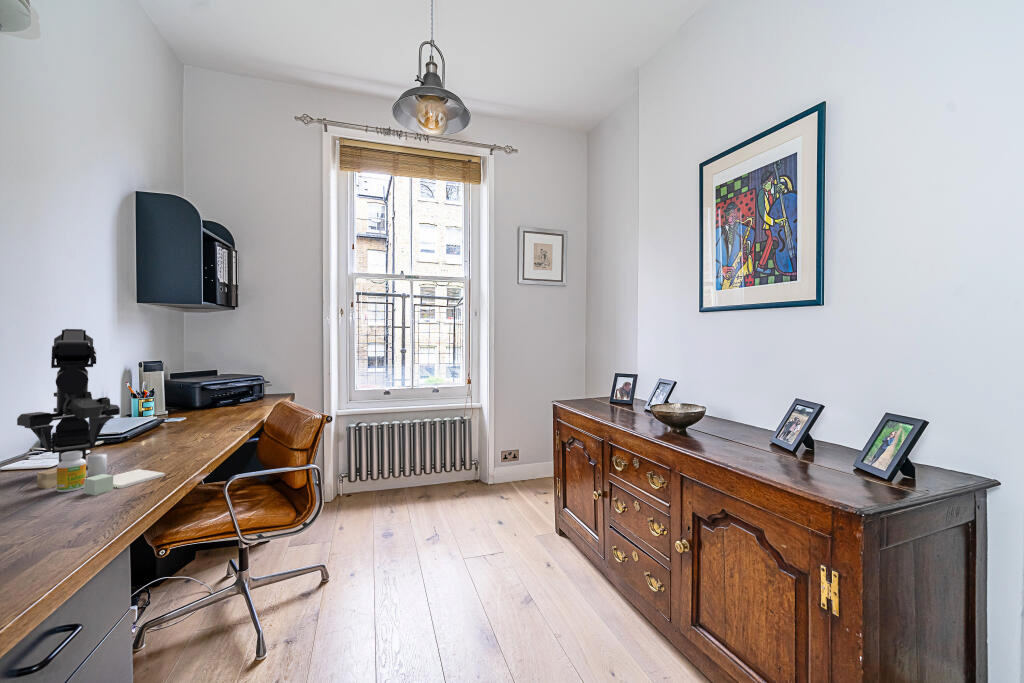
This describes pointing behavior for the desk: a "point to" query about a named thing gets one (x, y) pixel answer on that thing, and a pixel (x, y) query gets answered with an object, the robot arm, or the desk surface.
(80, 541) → the desk surface
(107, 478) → the sage block
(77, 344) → the robot arm
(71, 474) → the supplement bottle
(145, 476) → the ceramic tile
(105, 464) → the grey capsule
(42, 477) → the beech block
